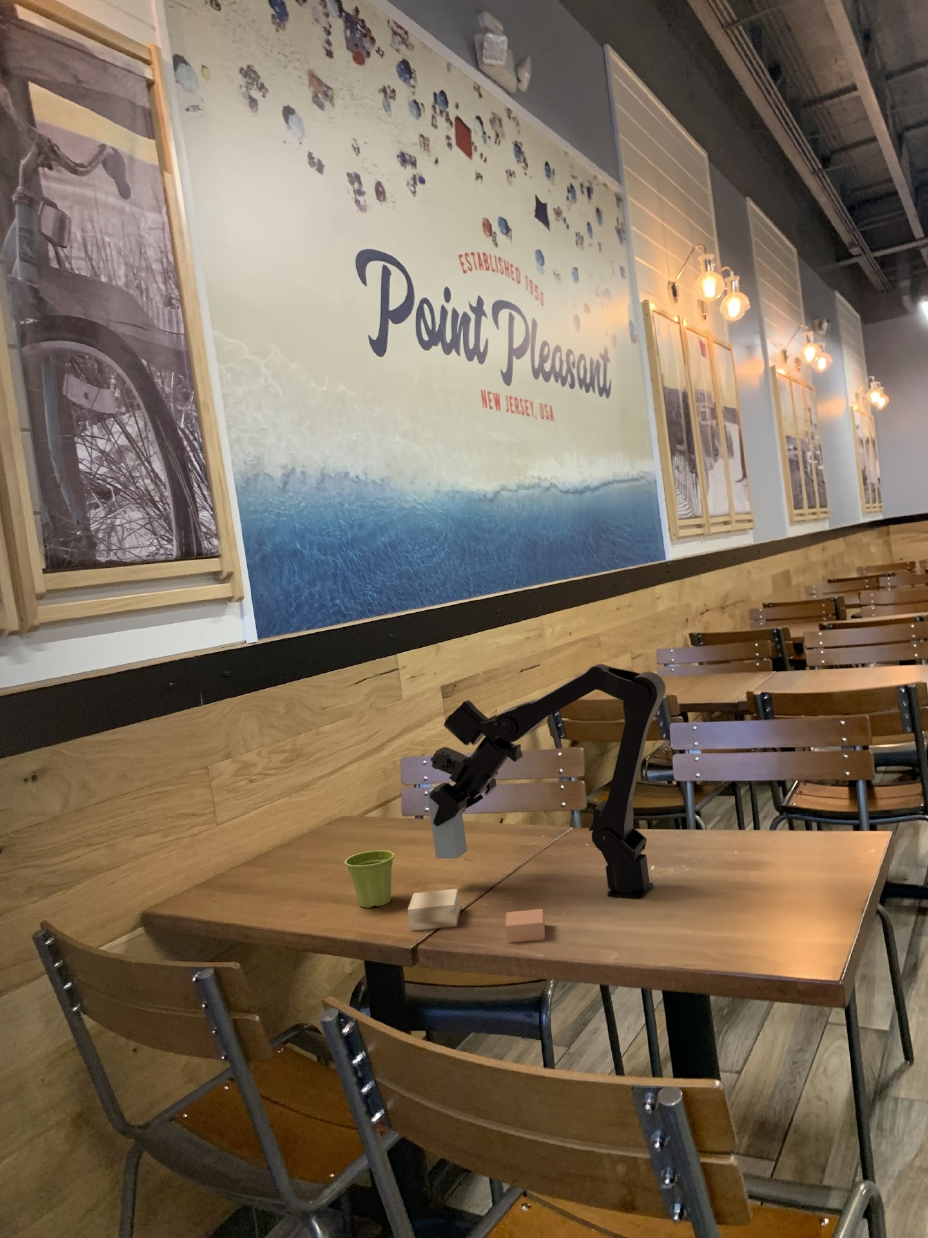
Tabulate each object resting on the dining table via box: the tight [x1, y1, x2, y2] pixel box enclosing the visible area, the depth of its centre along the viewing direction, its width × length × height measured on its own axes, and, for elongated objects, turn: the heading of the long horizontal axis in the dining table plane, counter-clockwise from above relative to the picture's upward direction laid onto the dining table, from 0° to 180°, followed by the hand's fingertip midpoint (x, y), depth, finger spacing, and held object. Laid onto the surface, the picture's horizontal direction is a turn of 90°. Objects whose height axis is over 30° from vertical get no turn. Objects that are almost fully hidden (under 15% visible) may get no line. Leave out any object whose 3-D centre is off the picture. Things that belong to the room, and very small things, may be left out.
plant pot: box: [344, 849, 395, 909], centre depth 175 cm, size 9×9×9 cm
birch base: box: [407, 888, 461, 932], centre depth 162 cm, size 8×8×4 cm
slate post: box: [426, 784, 468, 859], centre depth 177 cm, size 4×4×13 cm
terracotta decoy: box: [504, 908, 546, 944], centre depth 150 cm, size 6×6×3 cm
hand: (440, 820), depth 178 cm, fingers closed on slate post, 4 cm apart
